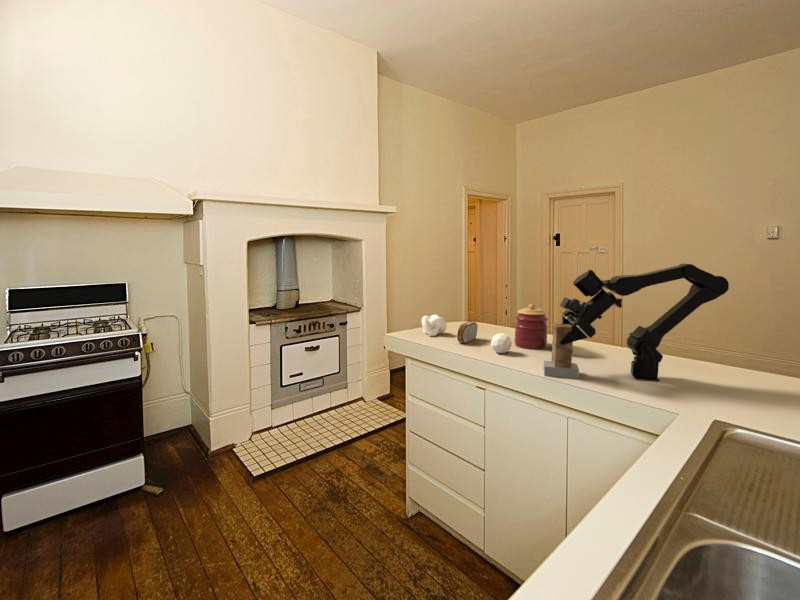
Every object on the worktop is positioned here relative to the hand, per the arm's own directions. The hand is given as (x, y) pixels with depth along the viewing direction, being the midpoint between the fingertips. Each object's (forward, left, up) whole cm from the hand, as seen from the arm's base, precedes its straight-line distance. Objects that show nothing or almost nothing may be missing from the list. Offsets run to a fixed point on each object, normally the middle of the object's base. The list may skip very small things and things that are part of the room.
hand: (557, 340), depth 130 cm
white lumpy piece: (+51, -47, -11) cm, 70 cm away
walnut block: (-1, 0, -8) cm, 8 cm away
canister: (+8, -37, -11) cm, 39 cm away
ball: (+19, -22, -11) cm, 31 cm away
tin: (+34, -37, -11) cm, 51 cm away
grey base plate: (-1, 0, -11) cm, 11 cm away
